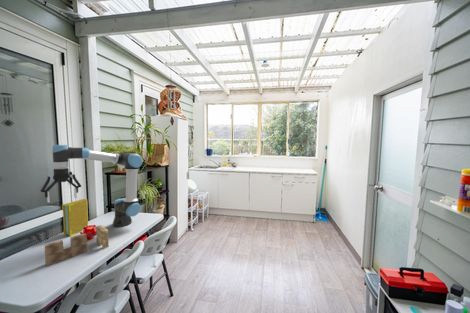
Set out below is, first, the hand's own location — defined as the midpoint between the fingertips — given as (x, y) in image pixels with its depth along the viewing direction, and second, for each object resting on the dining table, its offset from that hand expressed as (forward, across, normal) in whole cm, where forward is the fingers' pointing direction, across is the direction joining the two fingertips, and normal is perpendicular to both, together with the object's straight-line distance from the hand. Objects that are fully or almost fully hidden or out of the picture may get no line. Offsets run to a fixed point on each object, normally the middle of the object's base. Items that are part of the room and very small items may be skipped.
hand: (62, 199), depth 130 cm
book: (+36, -14, -30) cm, 49 cm away
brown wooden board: (+35, +1, +11) cm, 37 cm away
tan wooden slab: (+35, -19, +9) cm, 41 cm away
